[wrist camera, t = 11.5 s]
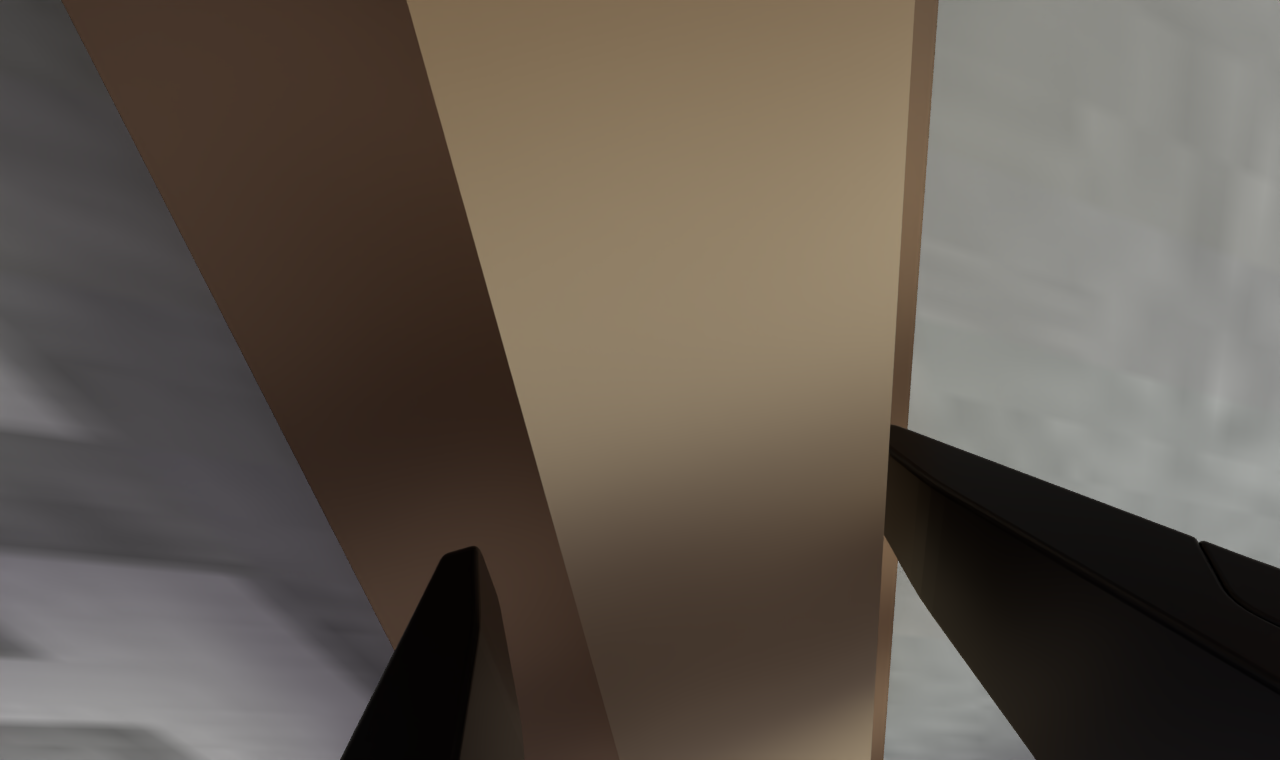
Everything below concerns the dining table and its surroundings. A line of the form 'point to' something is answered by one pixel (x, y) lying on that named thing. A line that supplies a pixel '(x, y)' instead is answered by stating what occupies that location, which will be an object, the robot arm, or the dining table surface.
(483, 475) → the rest board
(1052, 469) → the dining table surface
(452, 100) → the oak scraper
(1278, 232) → the dining table surface
